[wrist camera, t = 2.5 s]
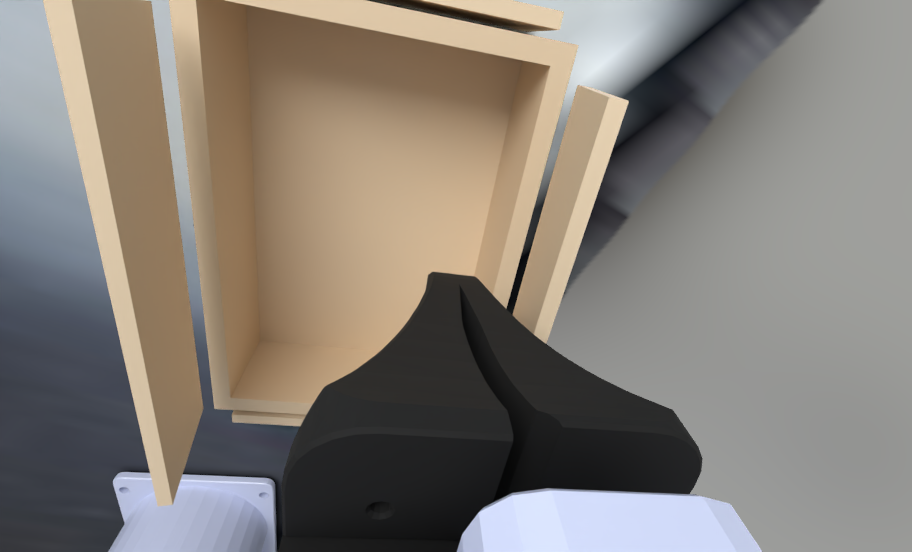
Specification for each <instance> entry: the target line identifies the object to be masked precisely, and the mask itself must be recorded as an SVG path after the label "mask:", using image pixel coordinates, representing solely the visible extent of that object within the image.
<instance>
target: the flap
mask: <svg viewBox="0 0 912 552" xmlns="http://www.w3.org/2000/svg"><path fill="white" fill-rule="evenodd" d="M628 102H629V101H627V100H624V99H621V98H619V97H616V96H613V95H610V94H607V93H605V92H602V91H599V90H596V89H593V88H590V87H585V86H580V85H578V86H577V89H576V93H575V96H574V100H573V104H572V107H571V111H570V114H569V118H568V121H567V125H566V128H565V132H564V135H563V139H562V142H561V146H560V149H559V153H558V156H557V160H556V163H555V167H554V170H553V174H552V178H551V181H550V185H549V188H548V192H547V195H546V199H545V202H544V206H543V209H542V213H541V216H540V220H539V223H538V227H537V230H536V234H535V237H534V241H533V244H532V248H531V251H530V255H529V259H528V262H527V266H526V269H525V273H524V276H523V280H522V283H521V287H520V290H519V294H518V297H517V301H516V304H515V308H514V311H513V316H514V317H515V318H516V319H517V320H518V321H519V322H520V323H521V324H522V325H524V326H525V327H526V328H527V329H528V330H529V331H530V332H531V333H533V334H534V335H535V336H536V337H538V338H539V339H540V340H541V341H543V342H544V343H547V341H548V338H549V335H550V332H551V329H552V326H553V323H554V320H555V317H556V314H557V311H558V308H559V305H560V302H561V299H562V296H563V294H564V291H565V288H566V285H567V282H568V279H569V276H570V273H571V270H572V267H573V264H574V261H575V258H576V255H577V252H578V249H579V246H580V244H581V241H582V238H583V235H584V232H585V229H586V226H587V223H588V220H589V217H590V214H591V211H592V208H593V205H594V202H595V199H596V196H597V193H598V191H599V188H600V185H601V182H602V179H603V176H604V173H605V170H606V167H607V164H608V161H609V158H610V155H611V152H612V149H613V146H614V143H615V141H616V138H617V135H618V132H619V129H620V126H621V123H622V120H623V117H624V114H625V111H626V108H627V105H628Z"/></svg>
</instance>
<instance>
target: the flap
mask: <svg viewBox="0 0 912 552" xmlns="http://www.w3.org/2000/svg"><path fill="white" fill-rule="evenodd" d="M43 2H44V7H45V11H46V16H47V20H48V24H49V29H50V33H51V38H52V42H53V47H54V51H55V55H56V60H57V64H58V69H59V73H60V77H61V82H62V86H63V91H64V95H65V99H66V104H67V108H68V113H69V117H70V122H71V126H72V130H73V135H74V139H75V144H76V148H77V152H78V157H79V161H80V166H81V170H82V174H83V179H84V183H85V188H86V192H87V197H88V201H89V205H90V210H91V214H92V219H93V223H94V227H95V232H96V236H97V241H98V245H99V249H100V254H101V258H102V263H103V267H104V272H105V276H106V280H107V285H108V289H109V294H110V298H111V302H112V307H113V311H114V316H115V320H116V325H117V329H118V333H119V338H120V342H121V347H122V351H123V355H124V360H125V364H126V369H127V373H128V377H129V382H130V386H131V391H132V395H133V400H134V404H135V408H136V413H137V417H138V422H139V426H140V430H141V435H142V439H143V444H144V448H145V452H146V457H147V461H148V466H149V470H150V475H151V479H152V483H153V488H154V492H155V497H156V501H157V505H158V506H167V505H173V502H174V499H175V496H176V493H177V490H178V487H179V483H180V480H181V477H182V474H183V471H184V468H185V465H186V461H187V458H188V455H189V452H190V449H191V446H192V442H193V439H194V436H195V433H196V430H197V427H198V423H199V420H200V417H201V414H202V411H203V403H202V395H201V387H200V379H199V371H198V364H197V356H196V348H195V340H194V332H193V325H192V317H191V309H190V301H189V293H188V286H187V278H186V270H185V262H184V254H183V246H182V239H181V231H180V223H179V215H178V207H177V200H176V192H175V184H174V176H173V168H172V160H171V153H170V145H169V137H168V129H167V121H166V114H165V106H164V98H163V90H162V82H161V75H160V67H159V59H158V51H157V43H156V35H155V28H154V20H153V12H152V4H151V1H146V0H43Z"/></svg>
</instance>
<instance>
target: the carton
mask: <svg viewBox="0 0 912 552" xmlns="http://www.w3.org/2000/svg"><path fill="white" fill-rule="evenodd" d="M379 1H384V2H389V3H393V4H398V5H403V6H408V7H412V8H417V9H422V10H426V11H431V12H436V13H441V14H445V15H450V16H455V17H459V18H464V19H469V20H474V21H478V22H483V23H488V24H492V25H497V26H502V27H507V28H511V29H516V30H521V31H526V32H531V31H548V30H560V26H561V22H562V18H563V14H564V12H562V11H558V10H553V9H549V8H544V7H540V6H535V5H531V4H526V3H522V2H517V1H513V0H379ZM169 5H170V14H171V23H172V32H173V41H174V50H175V59H176V68H177V77H178V86H179V95H180V104H181V113H182V122H183V131H184V140H185V149H186V158H187V167H188V176H189V184H190V193H191V202H192V211H193V220H194V229H195V238H196V247H197V256H198V265H199V274H200V283H201V292H202V301H203V310H204V319H205V328H206V337H207V346H208V355H209V364H210V373H211V382H212V391H213V400H214V409H226V410H234V411H233V413H232V421H233V422H238V423H255V424H271V425H288V426H301V424H302V422H303V420H304V418H305V416H306V415H307V413H308V411H309V410H310V408H311V406H312V405H313V403H314V401H315V400H316V398H317V397H318V395H319V394H320V392H321V391H322V389H323V388H324V387H325V386H326V385H328V384H330V383H332V382H334V381H336V380H338V379H340V378H342V377H344V376H346V375H347V374H349V373H351V372H353V371H354V370H356V369H357V368H359V367H360V366H361V365H363V364H364V363H365V362H367V361H368V360H369V359H371V358H372V357H373V356H375V355H376V354H377V353H378V352H380V351H381V350H382V349H383V348H384V347H385V346H386V345H387V344H388V343H389V342H390V341H391V340H392V339H393V338H394V337H395V336H396V335H397V334H398V333H399V331H400V330H401V329H402V328H403V327H404V325H405V324H406V323H407V321H408V320H409V319H410V317H411V316H412V314H413V312H414V311H415V309H416V308H417V306H418V305H419V303H420V301H421V299H422V297H423V295H424V293H425V290H426V284H427V278H428V274H430V273H431V272H441V273H450V274H458V275H467V276H475V277H477V278H478V279H479V280H480V281H481V282H482V283H483V285H484V286H485V287H486V288H487V289H488V290H489V291H490V292H491V293H492V294H493V296H494V297H495V298H496V299H497V300H498V301H499V302H500V303H501V304H502V305H503V306H504V307H505V308H507V305H508V301H509V297H510V294H511V290H512V286H513V283H514V279H515V275H516V272H517V268H518V264H519V261H520V257H521V253H522V250H523V246H524V243H525V239H526V235H527V232H528V228H529V224H530V221H531V217H532V213H533V210H534V206H535V202H536V199H537V195H538V191H539V188H540V184H541V180H542V177H543V173H544V169H545V166H546V162H547V159H548V155H549V151H550V148H551V144H552V140H553V137H554V133H555V129H556V126H557V122H558V118H559V115H560V111H561V107H562V104H563V100H564V96H565V93H566V89H567V85H568V82H569V78H570V74H571V71H572V67H573V64H574V60H575V56H576V53H577V49H578V45H575V44H570V43H565V42H561V41H556V40H551V39H546V38H542V37H537V36H532V35H528V34H523V33H518V32H513V31H509V30H504V29H499V28H494V27H490V26H485V25H480V24H475V23H471V22H466V21H461V20H456V19H452V18H447V17H442V16H438V15H433V14H428V13H423V12H419V11H414V10H409V9H404V8H400V7H395V6H390V5H385V4H381V3H376V2H371V1H366V0H169Z"/></svg>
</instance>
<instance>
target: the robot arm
mask: <svg viewBox="0 0 912 552" xmlns="http://www.w3.org/2000/svg"><path fill="white" fill-rule="evenodd" d="M701 467H702V457H701V454H700V451H699V448H698V446H697V445H696V443H695V442H694V440H693V439H692V437H691V436H690V434H689V433H688V431H687V430H686V428H685V427H684V426H683V424H682V423H681V422H680V420H679V418H678V417H677V415H676V414H675V413H674V411H673V410H671V409H669V408H666V407H664V406H662V405H659V404H657V403H654V402H652V401H649V400H647V399H644V398H642V397H639V396H637V395H635V394H632V393H630V392H628V391H625V390H623V389H621V388H619V387H617V386H615V385H613V384H611V383H609V382H607V381H605V380H603V379H601V378H599V377H597V376H596V375H594V374H592V373H590V372H588V371H586V370H585V369H583V368H582V367H580V366H578V365H577V364H575V363H573V362H572V361H570V360H568V359H567V358H565V357H564V356H562V355H561V354H559V353H558V352H556V351H555V350H554V349H552V348H551V347H549V346H548V345H547V344H546V343H544V342H543V341H541V340H540V339H539V338H538V337H536V336H535V335H534V334H533V333H531V332H530V331H529V330H528V329H527V328H526V327H525V326H524V325H522V324H521V323H520V322H519V321H518V320H517V319H516V318H515V317H514V316H513V315H512V314H511V313H510V312H509V311H508V310H507V309H506V308H505V307H504V306H503V305H502V304H501V303H500V302H499V301H498V300H497V299H496V298H495V297H494V296H493V294H492V293H491V292H490V291H489V290H488V289H487V288H486V287H485V286H484V285H483V283H482V282H481V281H480V280H479V279H478V278H477V277H475V276H467V275H458V274H450V273H441V272H431V273H430V274H428V278H427V284H426V290H425V293H424V295H423V297H422V299H421V301H420V303H419V305H418V306H417V308H416V309H415V311H414V312H413V314H412V316H411V317H410V319H409V320H408V321H407V323H406V324H405V325H404V327H403V328H402V329H401V330H400V331H399V333H398V334H397V335H396V336H395V337H394V338H393V339H392V340H391V341H390V342H389V343H388V344H387V345H386V346H385V347H384V348H383V349H382V350H381V351H380V352H378V353H377V354H376V355H375V356H373V357H372V358H371V359H369V360H368V361H367V362H365V363H364V364H363V365H361V366H360V367H359V368H357V369H356V370H354V371H353V372H351V373H349V374H347V375H346V376H344V377H342V378H340V379H338V380H336V381H334V382H332V383H330V384H328V385H326V386H325V387H324V388H323V389H322V391H321V392H320V394H319V395H318V397H317V398H316V400H315V401H314V403H313V405H312V406H311V408H310V410H309V411H308V413H307V415H306V416H305V418H304V420H303V422H302V424H301V426H300V428H299V430H298V432H297V435H296V437H295V439H294V441H293V444H292V446H291V449H290V453H289V456H288V459H287V463H286V466H285V469H284V475H283V480H282V532H283V535H282V539H281V543H280V547H279V550H278V552H762V550H761V549H760V547H759V546H758V544H757V543H756V541H755V540H754V539H753V537H752V536H751V534H750V533H749V531H748V530H747V528H746V527H745V525H744V524H743V522H742V521H741V519H740V518H739V517H738V515H737V514H736V512H735V510H734V509H733V507H732V506H731V504H729V503H725V502H721V501H717V500H714V499H710V498H706V497H703V496H699V495H694V494H690V492H691V490H692V489H693V488H694V486H695V483H696V482H697V479H698V477H699V475H700V472H701ZM113 485H114V489H115V492H116V496H117V499H118V502H119V506H120V509H121V513H122V516H123V520H124V523H125V524H124V526H123V528H122V529H121V531H120V533H119V534H118V536H117V538H116V539H115V541H114V543H113V544H112V546H111V548H110V549H109V551H108V552H277V538H276V499H275V483H274V481H273V480H272V479H269V478H259V477H235V476H211V475H188V474H182V477H181V480H180V483H179V487H178V490H177V493H176V496H175V499H174V502H173V505H167V506H158V505H157V501H156V497H155V492H154V488H153V483H152V479H151V475H150V473H140V472H121V473H118V474H117V476H116V477H115V478H114V480H113Z"/></svg>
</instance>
